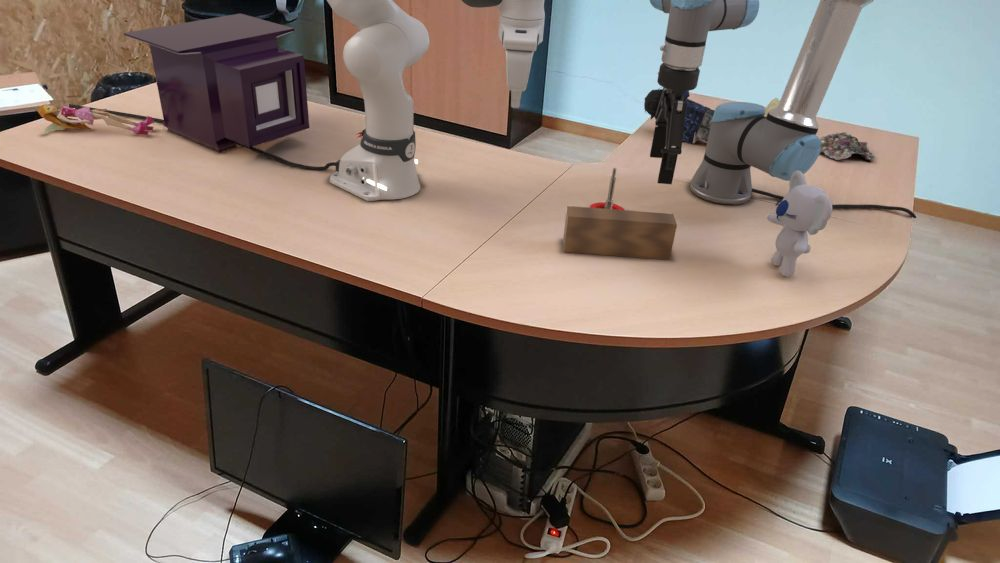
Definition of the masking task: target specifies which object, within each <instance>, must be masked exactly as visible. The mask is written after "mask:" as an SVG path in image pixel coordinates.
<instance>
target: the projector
mask: <svg viewBox="0 0 1000 563" xmlns="http://www.w3.org/2000/svg"><path fill="white" fill-rule="evenodd" d="M294 31H295V28H294V27H292V26H287V25H283V24H279V23H276V22H272V21H269V20H264V19H262V18H259V17H256V16H255V17H254V16H252V15H247V14H244V13H235V14H230V15H224V16H217V17H212V18H205V19H200V20H194V21H188V22H181V23H175V24H169V25H163V26H157V27H151V28H146V29H145V28H144V29H139V30H134V31H128V32H123V36H125V37H127V38H130V39H133V40H136V41H138V42H142V43H145V44H148V45H149V50H150V54H151V60H152V66H153V71H154V75H155V76H154V77H155V82H156V87H157V92H158V97H159V102H160V107H161V113H162V118H163V119H162V120H164V122H163V123H162V126H163V127H165V128H166V129H167V131H168V132H170V133H172V134H175V135H177V136H179V137H182V138H184V139H187V140H189V141H191V142H193V143H196V144H197V145H200V146H203V147H205V148H207V149H209V150H212V151H215V152H217V153H219V154H220V153H224V152H227V151H229V150H233V149H235V148H237V144H236V143H240V144H242V145H245V146H247V147H249V148H250V147H256V146H259V145H262V144H266V143H269V142H271V141H275V140H278V139H281V138H285V137H287V136H289V135H293V134H296V133H300V132H302V131H305V130H308V129H310V118H309V105H308V94H307V93H308V92H307V80H306V79H307V78H306V68H305V56H304V54H303V53H302V54H301V53H297V52H296V51H295V52H294V51H291V50H288V49H285V48H282V47H279V44H278V40H277V38H280V37H282V36H286V35H287V34H291V33H292V32H294Z"/></svg>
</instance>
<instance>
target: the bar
mask: <svg viewBox="0 0 1000 563" xmlns="http://www.w3.org/2000/svg"><path fill="white" fill-rule="evenodd" d="M564 222H565V223H564V231H563V238H562V243H563V245H562V246H563V252H564V253H573V254H576V253H577V254H586V255H599V256H600V255H603V256H613V257H614V256H615V257H627V258H639V259H653V260H654V259H655V260H666V261H667V260H670V259H671V255H672V251H673V246H674V242H675V236H676V232H677V227H678V223H677V220H676V218H675V215H674V213H670V212H669V213H667V212H657V211H656V212H654V211H643V210H642V211H641V210H640V211H639V210H629V209H624V210H615V209H605V208H603V207H601V208H590V207H586V206H571V205H567V206H566V213H565V221H564Z"/></svg>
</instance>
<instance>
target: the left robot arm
mask: <svg viewBox="0 0 1000 563" xmlns="http://www.w3.org/2000/svg"><path fill="white" fill-rule="evenodd" d="M326 2H327V4H328V5H329V6H330V9H332V11H333V12H334V14H335V15H336V16H338V17H339V18H341V19H343V20H345V21H347V22H349V23H350V24H352V25H353V26H354V27H356V28H357V29H358V30H359V31H357V32H356V33H354V35H352V36H351V37H350V38H349V39H348V40H347V41H346V42H345V45H344V46H343V50H342V51H343V52H342V59H343V64H344V66H345V68H346V70H347V71H348V73H349V74H350V75H351V76H352V77H353V78H354V79H356V80H357V82H358V85H359V87H360V90H361V93H362V97H363V102H364V103H363V104H364V117H365V128H364V129H362V131H360V132H358V133H356V139H359V138H361V139H360V143H359V144H357V145H356V146H355V147H352V148H351V149H350V150H348V151H347V152H345V153H344V154H343V155H342V156H341V157H340V159H338V160H336V161H332V162H327V163H326V164H325V165H323V166H312V165H307V164H301V163H297V162H293V161H289V160H286V159H284V158H282V157H280V156H278V155H275V154H272V153H270V152H267V151H265V150H262V149H259V148H258V147H255V146H253V147H250V148H249V147H247V146H245V145H242V144H240V143H236V146H240V147H241V148H245V149H247V150H250V151H253V152H255V153H258V154H260V155H263V156H265V157H268V158H270V159H273V160H275V161H278V162H280V163H282V164H285V165H287V166H291V167H295V168H298V169H303V170H309V171H327V170H328V169H329V168H330V167H334V168H335V171H334V172H333V173H332V174H331V175H330V177H329V183H330V184H332V185H334V186H335V187H338V188H340V189H342V190H344V191H346V192H348V193H350V194H352V195H354V196H356V197H359V198H360V199H363V200H364V201H367V202H374V201H380V200H400V199H406V198H410V197H412V196H414V195H416V194H418V193H419V191H420V190H421V183H420V181H419V176H418V171H417V165H418V164H419V160H418V159H416V156H415V155H416V145H417V144H416V143H417V142H416V131H415V129H414V128H415V127H414V126H415V125H414V124H415V123H414V120H415V119H414V118H415V117H414V113H415V112H414V111H415V110H414V109H415V108H414V100H413V98H412V96H411V94H410V93H408V92H407V90H406V87H405V84H404V80H403V73H404V70H406V69H408V68H410V67H412V66H414V65H416V64H417V63H418V62H420V60H422V58H423V57H424V56H425V55H426V53H427V52H428V50H429V47H430V35H429V31H428V29H427V28H426V26H425V25H424V23H423V22H422V21H420V20H419V19H417V18H415V17H413V16H411V15H410V14H408V13H407V12H405V11H404V9H402V8H401V7H400V6H399V5H397V3H396V2H395V1H394V0H326ZM461 2H462V3H464V4H465V5H466V6H468V7H470V8H477V9H484V8H492V7H495V8H498V10H499V17H498V18H499V19H498V34H497V35H498V36H497V37H498V40H500V42H501V43H502V48H503V50H504V53H505V73H506V74H505V75H506V76H505V77H506V88H507V89H508V91H510V96H511V97H510V98H511V99H510V100H511V101H510V107H511V108H512V109H513V108H514V109H519V108H520V107H521V99H522V93H523V92H525V91H526V89H527V87H528V83H529V82H528V81H529V78H530V74H531V73H530V72H531V69H532V68H531V67H532V63H533V57H534V54H535V52H537V49H538V47H539V45H540V44H542V42H544V30H545V20H546V13H545V12H546V11H545V0H461ZM68 107H71V108H73V109H81V108H84V107H86V105H85V106H84V105H78V104H73V103H72V104H71V103H70V104H68ZM89 107H90V110H95V109H98V108H97V107H91V106H89ZM104 112H108V113H111V114H113V115H116V116H120V117H128V118H134V119H140V120H146V119H147V116H146V115H141V114H135V113H128V112H123V111H116V110H110V109H107V111H104ZM152 118H153V119H154V122H156V123H162V124H163V122H164V119H161V118H157V117H152Z"/></svg>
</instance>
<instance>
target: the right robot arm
mask: <svg viewBox="0 0 1000 563" xmlns="http://www.w3.org/2000/svg"><path fill="white" fill-rule="evenodd" d="M873 2H874V0H819V3H818V5H817V7H816V10H815V12H814V15H813V18H812V19H811V22H810V25H809V28H808V29H807V33H806V35H805V38H804V40H803V43H802V45H801V48H800V50H799V52H798V55H797V57H796V60H795V62H794V65H793V67H792V70H791V73H790V75H789V78H788V80H787V83H786V85H785V88H784V89H783V93H782V95H781V98H780V99H779V101H780V102H779V105H778V106H777V107H776V108H774V109H772V110H770V111H769V112H768V114H767V117H765V116H764V114H765V113H766V112H765V109H766V108H765V107H764V106H763V105H761V104H758V103H753V102H746V101H730V102H729V101H728V102H723V103H721V104H718V105H716V107H715V109H714V115H713V118H712V120H711V126H710V131H709V135H708V140H707V142H706V145H705V150H704V154H703V159H702V161H701V163H700V165H699V166H698V168H697V169H696V171H695V173H694V174H693V176H692V179H691V181H690V184H689V189H690V191H691V193H693V194H694V196H696V197H698V198H700V199H702V200H704V201H707V202H710V203H713V204H717V205H726V206H727V205H729V206H734V205H742V204H745V203H747V202H749V201H750V199H751V197H752V193H755V194H759V195H762V196H766V197H769V198H772V199H777V200H779V201H780V200H781V201H782V200H783V198H784V197H785V196H782V195H778V194H774V193H772V192H769V191H768V192H767V191H765V190H760V189H756V188H753V186H752V174H751V167H752V168H755V169H757V170H758V171H761V172H763V173H765V174H767V175H769V176H771V177H772V178H777V179H779V180H782V181H786V182H790V178H791V176H792V174H793V173H794V172H795V171H801V172H802V173H803V175H805V174H806V173H807V172H808V171H809V170H810V169H811V168H812V167H813V166H814V164H815V163H816V161H817V160H818V158H819V156H820V154H821V152H820V151H821V140H820V137H819V136H817V134H818V130H819V128H820V125H819V123H818V121H817V116H818V113H819V110H820V108H821V105H822V104H823V102H824V99H825V97H826V94H827V92H828V89H829V87H830V84H831V82H832V80H833V78H834V75H835V73H836V71H837V68H838V66H839V64H840V62H841V59H842V57H843V54H844V51H845V50H846V48H847V47H846V46H847V45H848V42H849V40H850V38H851V35H852V34H853V30H854V28H855V26H856V23H857V21H858V19H859V17H860V14H861V12H862V9H863V8H865V7H866V6H868V5H870V4H872V3H873ZM649 3H650V5H651V6H652V8H654V9H656V10H658V11H661V12H663V13H664V14H668V19H667V26H666V32H665V36H664V45H660V48H659V50H660V52H662V54H661V62H662V63H661V64H660V65H659V68H658V69H659V70H658V72H659V74H658V73H657V84H658V85H659V86H660V87H661V88H662V89H663V91H662V94H661V98H660V101H659V105H658V108H657V111H656V115H655V117H654V120H655V122H654V124H655V127H654V130H653V137H652V142H651V148H650V153H649V157H650V158H655V159H656V158H657V159H661V162H660V166H659V172H658V177H657V184H662V185H673V180H674V176H675V170H676V165H677V160H678V155H681V154H682V152H683V151H682V149H683V148H682V147H683V141H682V139H683V130H684V121H685V112H686V107H687V101H686V98H684V92H685V91H688V90H689V92H690V91H693V90H695V89H696V88H697V87H698V83H699V78H700V73H701V70H700V67H702V65H703V60H704V55H705V50H706V44H707V39H708V35H709V32H716V31H727V30H738V29H741V28H746V27H748V26H749V25H751V24H752V23H753V22H755V20H756V18H757V17H758V15H759V14H758V13H759V10H760V0H649ZM679 112H680V113H679ZM665 126H667V127H665ZM832 209H879V210H887V211H900V212H904V213H907V215H909V216H910V217H911V218H912V219H917V218H918V217H917V215H916V214H915V213H914V211H913V210H910V209H909V208H906V207H902V206H893V205H891V206H890V205H881V204H844V203H843V204H832Z"/></svg>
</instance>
